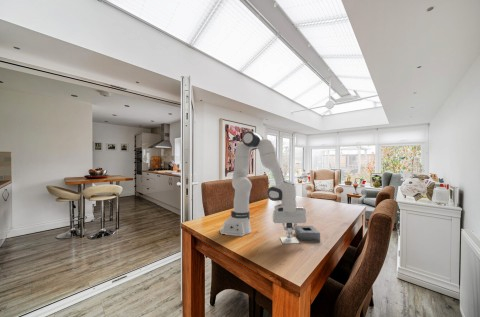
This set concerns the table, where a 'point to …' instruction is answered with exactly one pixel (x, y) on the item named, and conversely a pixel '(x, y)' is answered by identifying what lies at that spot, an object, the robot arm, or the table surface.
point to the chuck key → (289, 230)
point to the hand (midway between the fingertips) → (289, 229)
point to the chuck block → (307, 233)
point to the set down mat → (289, 240)
